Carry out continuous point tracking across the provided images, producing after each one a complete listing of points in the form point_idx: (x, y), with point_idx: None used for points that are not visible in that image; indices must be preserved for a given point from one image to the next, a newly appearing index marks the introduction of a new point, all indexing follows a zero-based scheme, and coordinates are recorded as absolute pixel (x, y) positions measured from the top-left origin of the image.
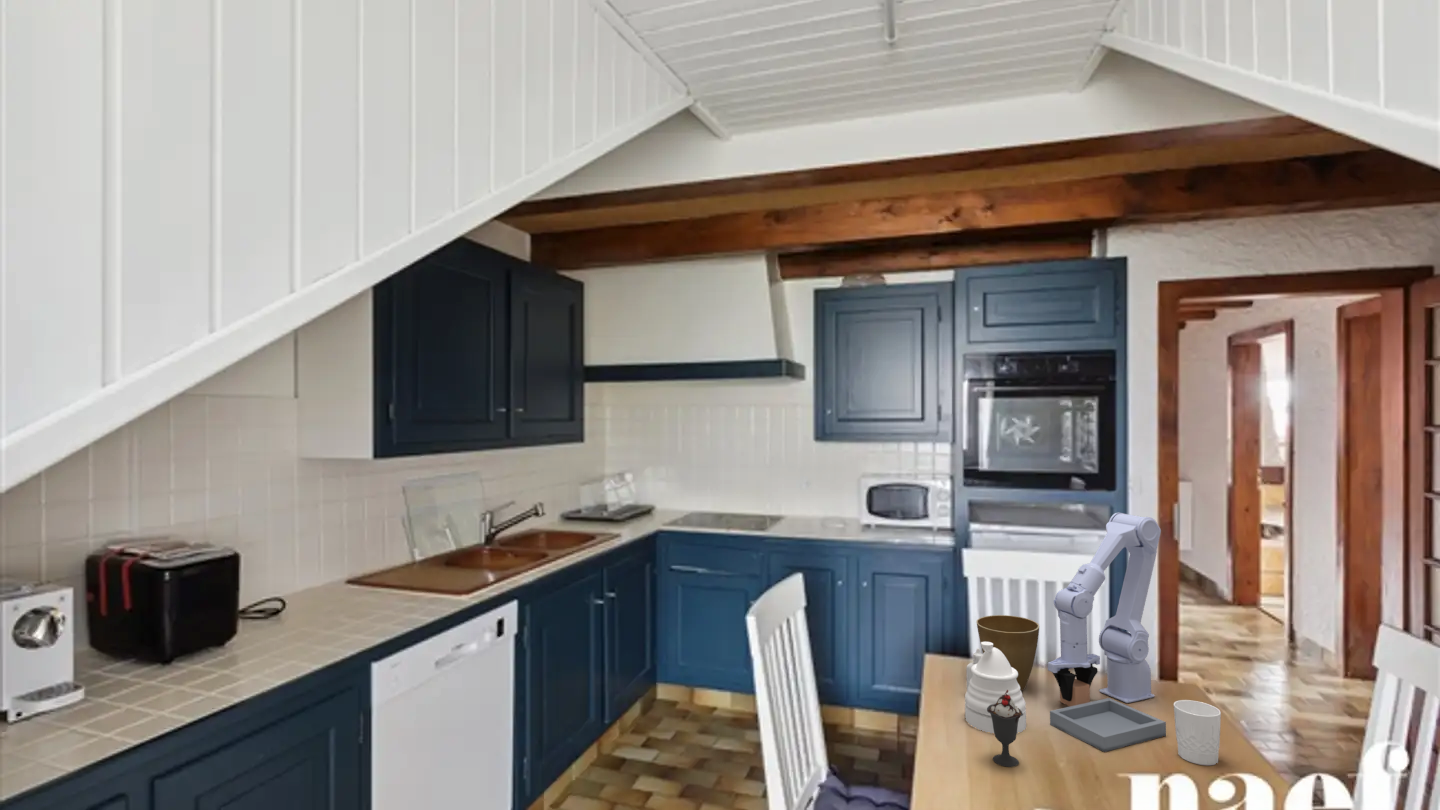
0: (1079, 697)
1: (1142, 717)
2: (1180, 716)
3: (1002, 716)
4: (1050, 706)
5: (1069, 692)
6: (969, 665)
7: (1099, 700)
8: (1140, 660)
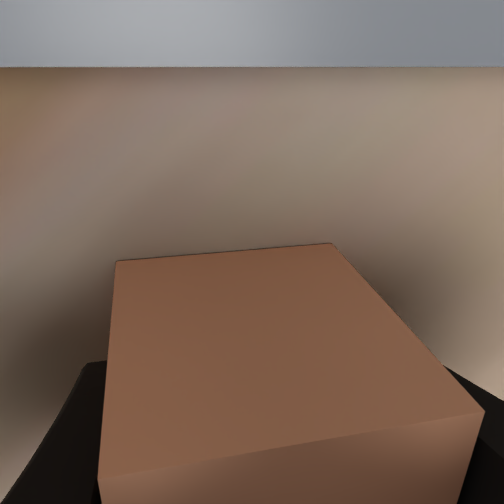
0: (315, 313)
1: None
2: None
3: None
4: (461, 351)
5: (469, 384)
6: None
7: (208, 43)
8: None
